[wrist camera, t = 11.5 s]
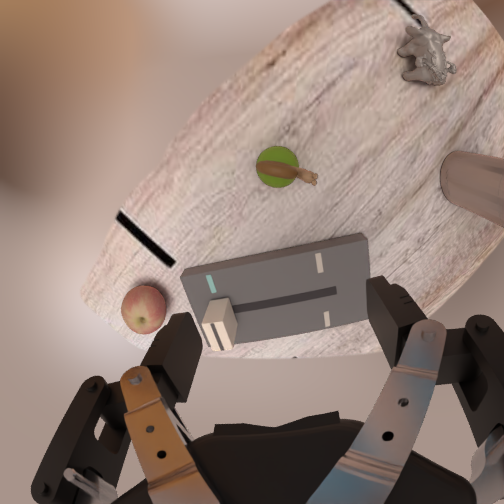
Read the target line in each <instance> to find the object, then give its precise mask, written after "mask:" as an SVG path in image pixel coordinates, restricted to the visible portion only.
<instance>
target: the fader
mask: <svg viewBox="0 0 504 504" xmlns="http://www.w3.org/2000/svg"><path fill="white" fill-rule="evenodd" d="M237 325H238V324H237V321H236V318H235V315H234V312H233V309H232V306H231V303H230V300H229V298H223V299H217V300H211V301H210V302H209V305H208V307H207V310H206V313H205V316H204V318H203V321H202V327H203V329H204V331H205V334H206V336H207V338H208V341H209V343H210V345H211V348H212V350H213V351H220V350H221V351H222V350H229V349H233V347H234V341H235V336H236V330H237Z"/></svg>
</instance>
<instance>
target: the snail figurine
mask: <svg viewBox="0 0 504 504" xmlns="http://www.w3.org/2000/svg"><path fill="white" fill-rule="evenodd" d="M256 170H257V174H258V176H259V178H260V179H261V180H262V181H263V182H264V183H265V184H266V185H268V186H271V187H275V188H281V187H285V186H287V185H289V184H291V183H292V182H293V181H294V180H295V178H296V177H297V178H299V179H301V180H303V181H304V182H306V183H312V185H314V186H315V185H316V184H317V181H316V180H315V179H317V178H318V174H314V173H313V172H311V171H308V170H306V169H302V168H299V163H298V160H297V158H296V156H295V155H294V153H293V152H292V151H290V150H289V149H287V148H285V147H281V146H273V147H270V148H267V149H266V150H264V151H263V152H262V153H261V154H260V156H259V157H258V160H257V164H256Z"/></svg>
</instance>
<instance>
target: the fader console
mask: <svg viewBox="0 0 504 504" xmlns="http://www.w3.org/2000/svg"><path fill="white" fill-rule="evenodd" d="M369 278H370V264H369V250H368V239H367V238H366V237H365V236H364V235H363V234H362V233H358V234H353V235H349V236H344V237H339V238H334V239H329V240H324V241H320V242H315V243H310V244H305V245H300V246H295V247H290V248H285V249H281V250H276V251H271V252H266V253H261V254H256V255H251V256H246V257H241V258H236V259H232V260H227V261H222V262H217V263H212V264H207V265H202V266H197V267H192V268H187V269H185V270H184V272H183V273H182V275H181V276H180V279H181V282H182V284H183V287H184V289H185V292H186V294H187V297H188V299H189V302H190V304H191V307H192V309H193V312H194V314H195V317H196V319H197V321H198V324H199V326H200V328H201V331H202V333H203V335H204V338H205V340H206V342H207V344H208V347H211V345H210V343H209V341H208V338H207V336H206V334H205V331H204V329H203V327H202V321H203V318H204V316H205V313H206V310H207V307H208V305H209V302H210V301H211V300H217V299H223V298H229V300H230V303H231V306H232V309H233V312H234V315H235V318H236V321H237V324H238V325H237V330H236V336H235V341H234V344H240V343H247V342H254V341H261V340H268V339H274V338H280V337H286V336H292V335H297V334H303V333H308V332H313V331H318V330H323V329H328V328H332V327H337V326H341V325H346V324H350V323H354V322H359V321H363V320H367V319H368V314H367V299H366V280H367V279H369Z"/></svg>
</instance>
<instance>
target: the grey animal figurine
mask: <svg viewBox="0 0 504 504" xmlns="http://www.w3.org/2000/svg"><path fill="white" fill-rule="evenodd" d="M412 18H413V19H417V18H418V19H420V20H421V23H422V28H420V29H418V28H415V27H411V26H410V27H406V29H405V30H406V32H407V33H408V34H409V35H410V36H412V37H413V39H412V40H411V41H410V42H409V43H408V44H406V45H405V46H404V47H403V48H400V49H398V54H399V55H400V56H402V57H407V56H410V55H414V56H415V57H416V61H415V65H416V66H417V67H416V69H415V70H413V71H406V72H404V73H403V78H404V79H405V80H406V81H411V80H421V81H423V82H426V83H427V84H429V85H430V84H433V85H442V84H444V83H445V82H446V77H447V72H450V73H452V74H455V73H456V70H457V69H456V66H455V64H453V63H451V62H448V61H446V60H445V59H446V57H445V53H444V52H443V47H442V46H443V43H445V42H447V41H449V40H450V38H451V36H445V35H442V34H439V33H437V32H436V31H435V30H433V29H431V28H429V27H428V25H427V23H426V21H425V20H424V18H423V16H421V15H415V14H414V15H412ZM447 63H448V64H450V67H449V68H447V67H446V66H447Z"/></svg>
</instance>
